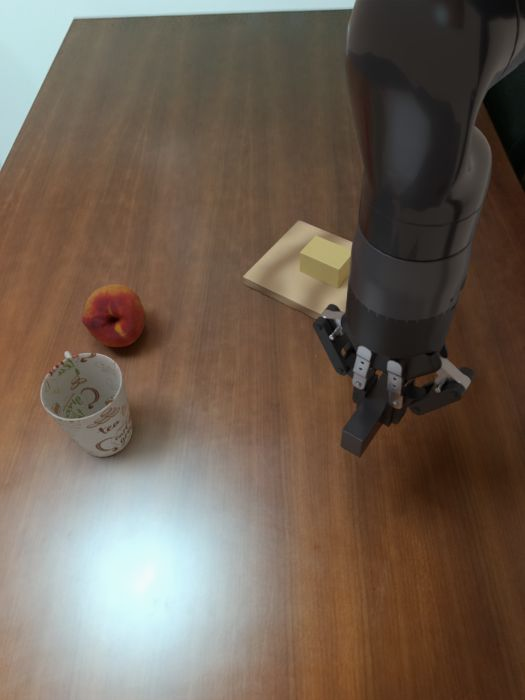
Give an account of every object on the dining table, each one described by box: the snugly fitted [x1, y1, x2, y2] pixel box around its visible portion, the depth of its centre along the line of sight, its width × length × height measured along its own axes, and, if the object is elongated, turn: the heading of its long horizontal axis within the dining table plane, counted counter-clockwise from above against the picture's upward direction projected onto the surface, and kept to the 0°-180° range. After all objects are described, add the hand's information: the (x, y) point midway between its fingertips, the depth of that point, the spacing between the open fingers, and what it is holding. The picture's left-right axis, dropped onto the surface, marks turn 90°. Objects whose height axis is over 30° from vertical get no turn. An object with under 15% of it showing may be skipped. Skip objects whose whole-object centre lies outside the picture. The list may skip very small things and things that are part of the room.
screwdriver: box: [340, 372, 389, 459], centre depth 54 cm, size 20×2×3 cm, turn 144°
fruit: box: [81, 283, 146, 348], centre depth 73 cm, size 8×8×8 cm
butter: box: [300, 236, 351, 288], centre depth 78 cm, size 6×4×4 cm, turn 55°
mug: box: [39, 350, 134, 458], centre depth 64 cm, size 8×13×10 cm, turn 33°
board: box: [242, 219, 353, 320], centre depth 79 cm, size 22×14×2 cm, turn 55°
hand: (377, 411), depth 53 cm, fingers closed on screwdriver, 2 cm apart
